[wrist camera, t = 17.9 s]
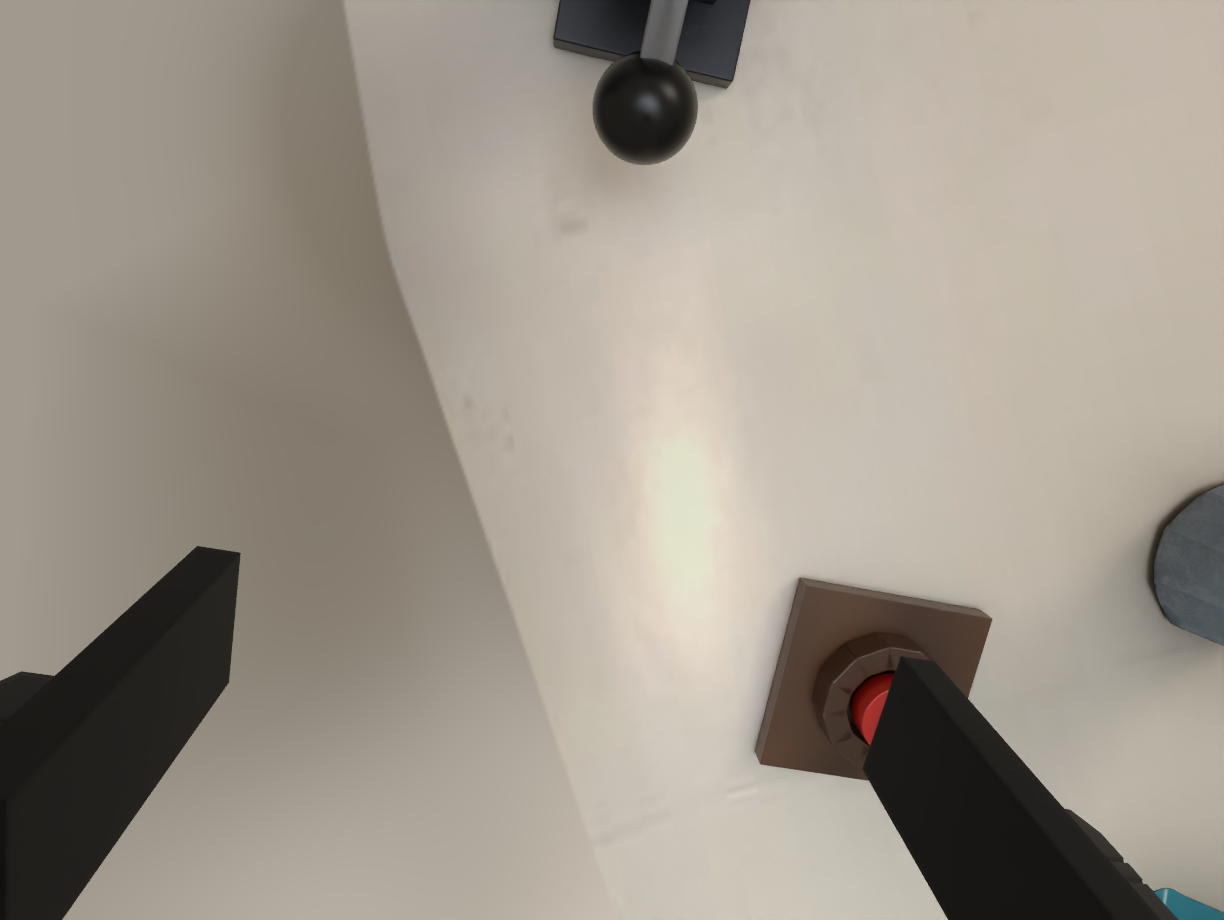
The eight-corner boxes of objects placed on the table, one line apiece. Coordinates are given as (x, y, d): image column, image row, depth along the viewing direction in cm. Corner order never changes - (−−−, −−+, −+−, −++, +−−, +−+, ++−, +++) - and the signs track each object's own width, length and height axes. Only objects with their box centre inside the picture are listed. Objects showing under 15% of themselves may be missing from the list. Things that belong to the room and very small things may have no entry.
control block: (754, 751, 43) (768, 785, 40) (799, 577, 41) (817, 599, 38) (929, 778, 44) (955, 812, 41) (981, 609, 42) (1012, 633, 39)
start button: (842, 733, 40) (853, 750, 39) (861, 667, 39) (873, 682, 38) (910, 743, 40) (923, 760, 39) (929, 678, 40) (944, 693, 38)
